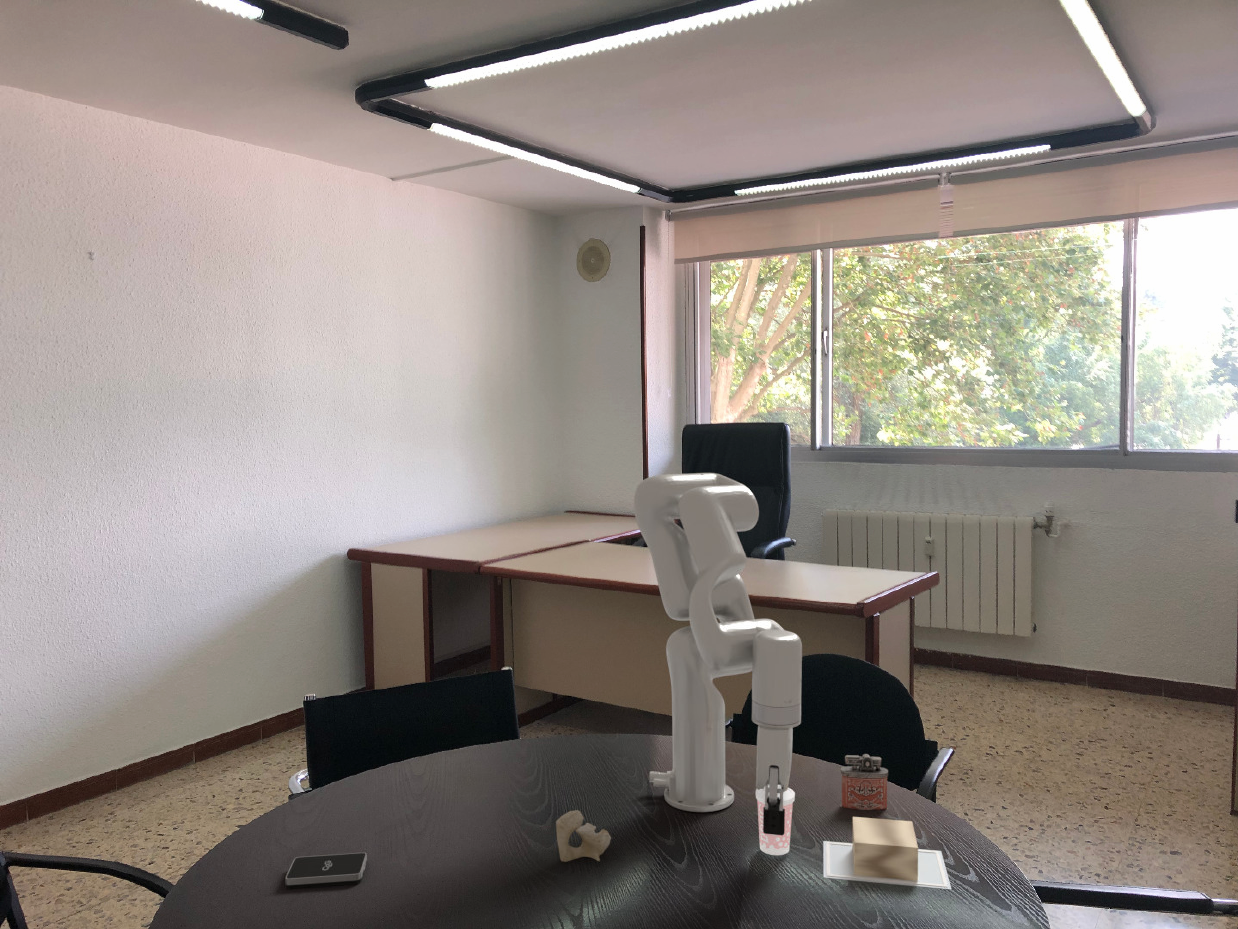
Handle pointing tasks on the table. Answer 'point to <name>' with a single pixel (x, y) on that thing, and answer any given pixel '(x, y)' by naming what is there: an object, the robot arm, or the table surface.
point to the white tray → (842, 867)
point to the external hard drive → (326, 870)
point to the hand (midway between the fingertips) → (774, 822)
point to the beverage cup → (782, 842)
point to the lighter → (864, 783)
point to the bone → (591, 841)
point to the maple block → (885, 849)
